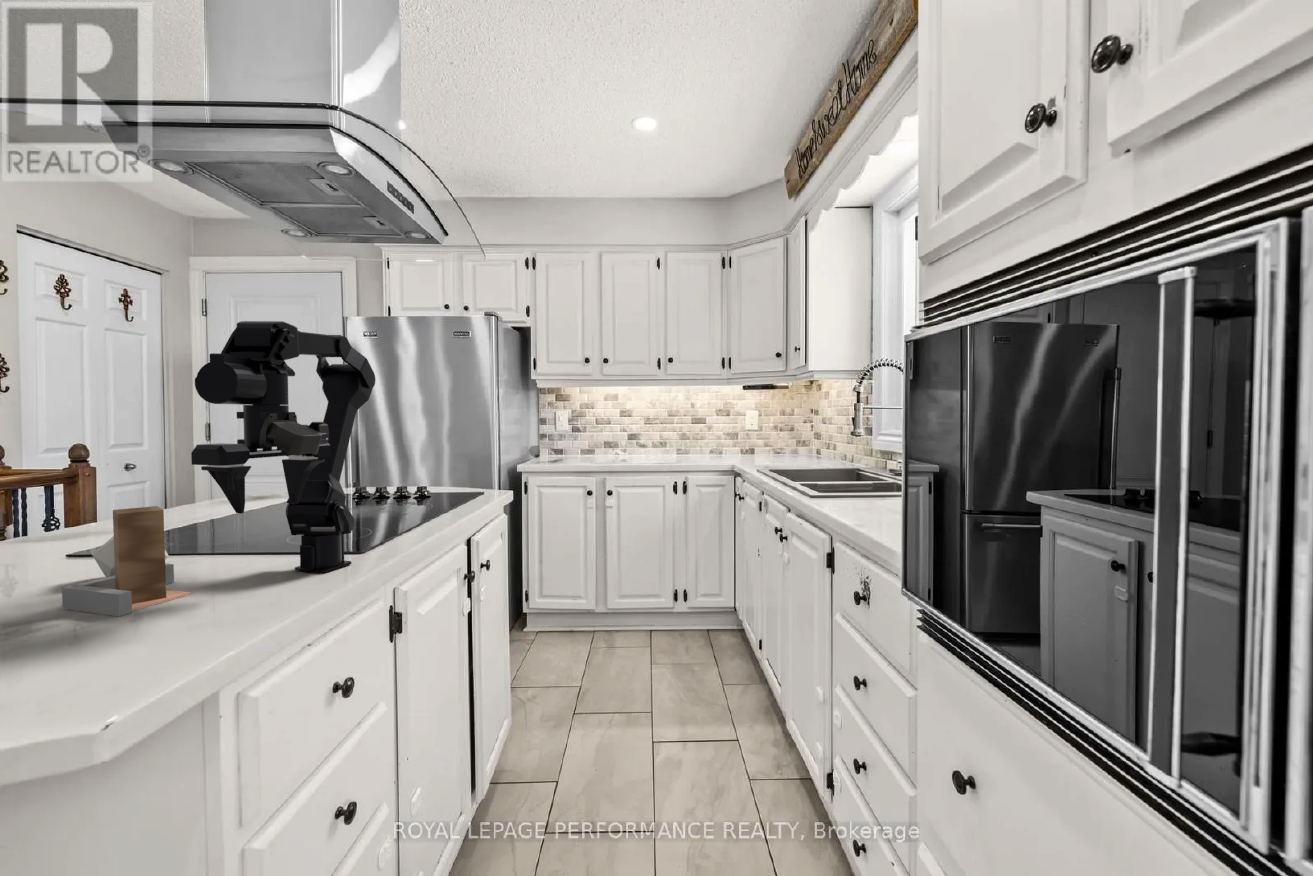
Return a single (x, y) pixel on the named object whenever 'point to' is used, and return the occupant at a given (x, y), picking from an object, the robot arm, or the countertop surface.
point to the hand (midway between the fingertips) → (268, 508)
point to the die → (108, 558)
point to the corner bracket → (103, 596)
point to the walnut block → (140, 552)
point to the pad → (169, 596)
